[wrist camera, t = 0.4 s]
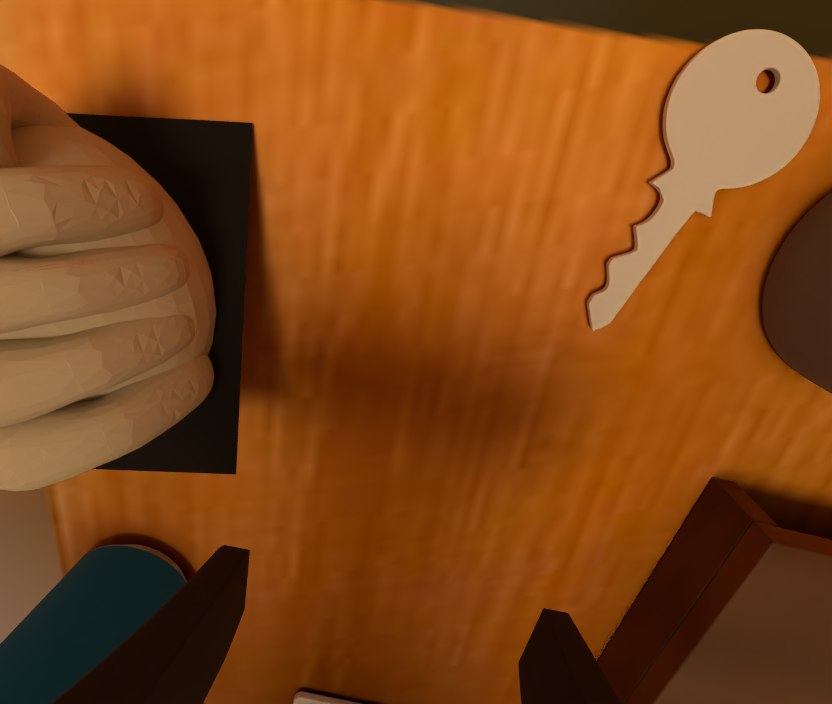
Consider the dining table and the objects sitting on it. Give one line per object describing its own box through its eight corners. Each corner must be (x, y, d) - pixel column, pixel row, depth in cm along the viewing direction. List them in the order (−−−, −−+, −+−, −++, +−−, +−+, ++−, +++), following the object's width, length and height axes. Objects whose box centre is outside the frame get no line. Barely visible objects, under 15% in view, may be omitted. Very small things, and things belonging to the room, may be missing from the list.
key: (733, -4, 13) (853, 82, 14) (727, -1, 13) (845, 85, 14) (533, 297, 17) (636, 354, 18) (532, 295, 17) (633, 352, 18)
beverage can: (81, 524, 23) (-245, 836, 12) (198, 545, 24) (-17, 872, 12) (92, 605, 26) (-171, 928, 15) (199, 624, 26) (19, 958, 15)
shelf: (783, 703, 26) (841, 790, 22) (596, 662, 25) (623, 744, 22) (943, 532, 21) (1053, 608, 17) (712, 476, 20) (773, 542, 17)
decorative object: (-435, -125, 8) (109, -92, 8) (40, 146, 18) (276, 158, 18) (-479, 566, 8) (75, 584, 8) (25, 447, 18) (262, 456, 18)
